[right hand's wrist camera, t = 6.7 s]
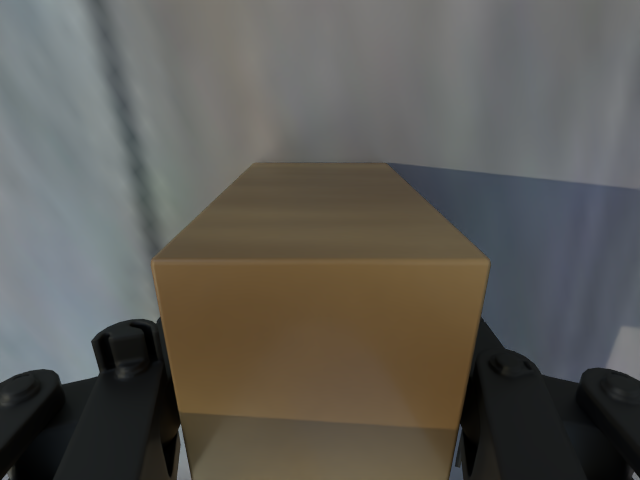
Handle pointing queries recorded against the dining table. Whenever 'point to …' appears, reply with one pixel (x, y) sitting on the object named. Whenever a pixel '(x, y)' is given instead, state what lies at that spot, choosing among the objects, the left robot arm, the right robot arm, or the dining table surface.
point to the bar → (320, 327)
